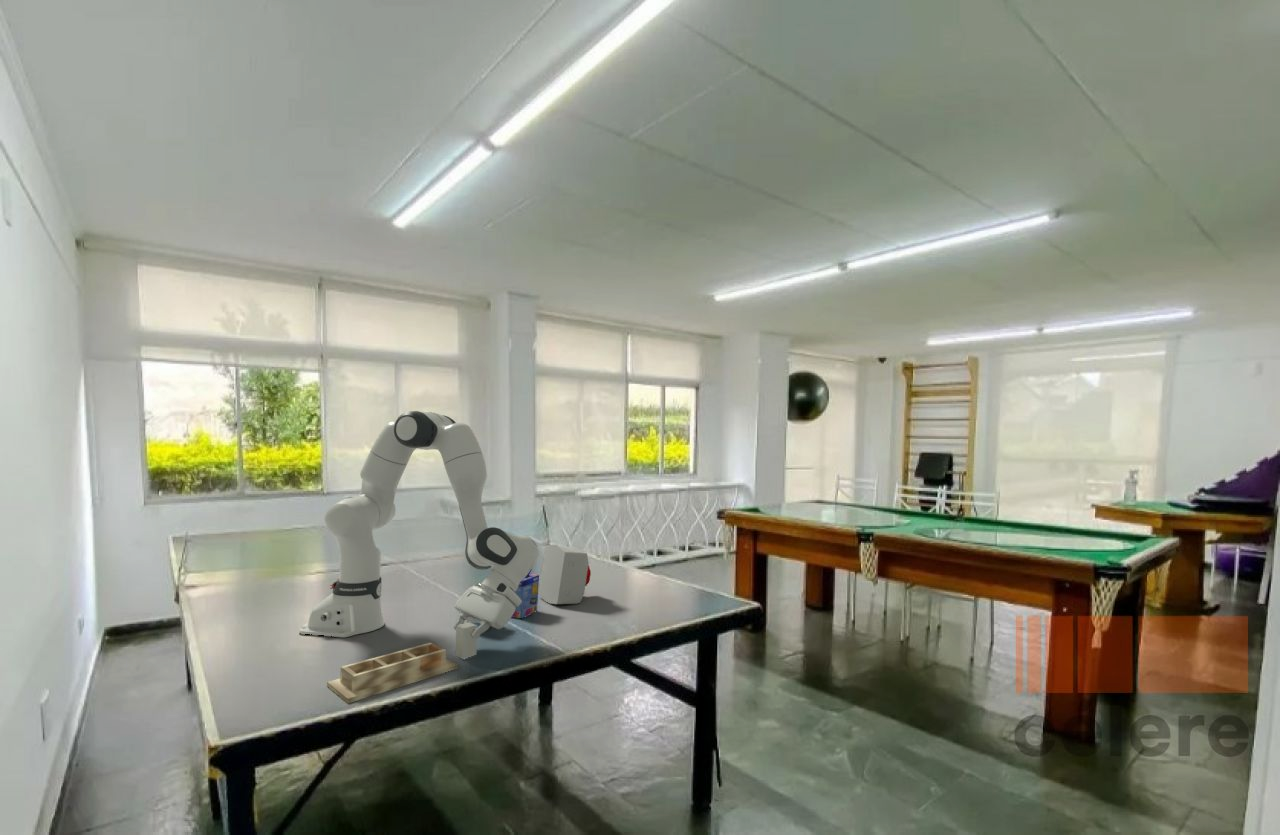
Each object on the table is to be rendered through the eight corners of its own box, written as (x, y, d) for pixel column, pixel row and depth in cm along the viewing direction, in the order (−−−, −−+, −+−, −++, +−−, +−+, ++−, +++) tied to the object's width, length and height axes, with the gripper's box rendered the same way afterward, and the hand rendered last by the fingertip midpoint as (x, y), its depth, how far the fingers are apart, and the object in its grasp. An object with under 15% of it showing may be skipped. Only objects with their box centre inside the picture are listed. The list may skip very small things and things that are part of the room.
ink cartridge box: (522, 619, 182) (523, 573, 182) (507, 617, 184) (508, 571, 184) (538, 611, 191) (539, 567, 191) (524, 608, 193) (525, 565, 194)
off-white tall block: (455, 656, 151) (456, 625, 151) (469, 652, 154) (469, 621, 154) (462, 659, 149) (463, 628, 149) (476, 655, 152) (477, 624, 152)
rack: (347, 703, 124) (348, 682, 124) (326, 686, 132) (327, 666, 132) (457, 668, 143) (457, 650, 143) (433, 655, 151) (433, 638, 151)
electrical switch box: (593, 607, 203) (602, 550, 205) (556, 608, 194) (565, 548, 197) (573, 598, 215) (581, 543, 217) (537, 597, 206) (546, 541, 209)
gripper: (469, 575, 164) (436, 618, 157) (512, 589, 150) (478, 636, 143) (483, 588, 167) (451, 630, 160) (525, 603, 154) (493, 650, 146)
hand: (464, 633), depth 151 cm, fingers open, 7 cm apart
